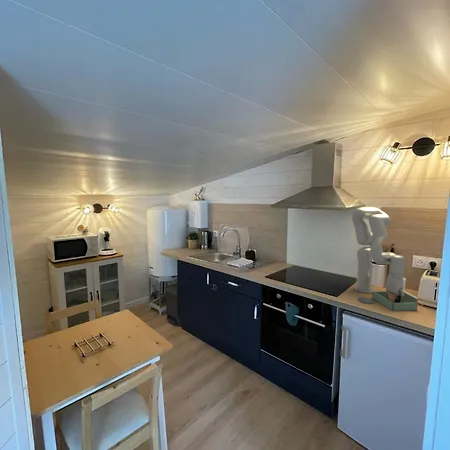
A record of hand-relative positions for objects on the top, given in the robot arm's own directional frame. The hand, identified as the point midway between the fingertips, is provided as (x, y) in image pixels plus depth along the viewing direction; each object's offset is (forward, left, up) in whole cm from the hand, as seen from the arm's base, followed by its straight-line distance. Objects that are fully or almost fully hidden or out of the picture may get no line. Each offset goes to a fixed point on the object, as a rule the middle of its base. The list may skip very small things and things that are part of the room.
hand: (393, 301), depth 168 cm
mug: (-18, +15, -1) cm, 23 cm away
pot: (0, 0, -1) cm, 1 cm away
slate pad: (-5, -15, -1) cm, 16 cm away
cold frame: (0, 0, -1) cm, 1 cm away
